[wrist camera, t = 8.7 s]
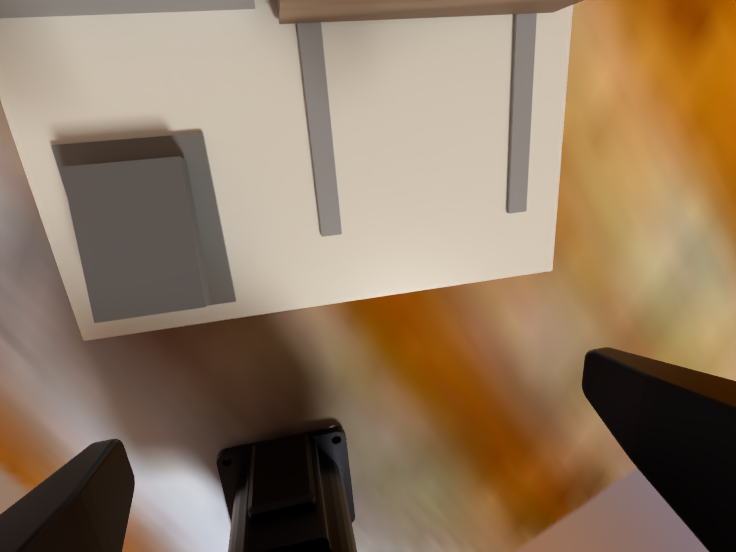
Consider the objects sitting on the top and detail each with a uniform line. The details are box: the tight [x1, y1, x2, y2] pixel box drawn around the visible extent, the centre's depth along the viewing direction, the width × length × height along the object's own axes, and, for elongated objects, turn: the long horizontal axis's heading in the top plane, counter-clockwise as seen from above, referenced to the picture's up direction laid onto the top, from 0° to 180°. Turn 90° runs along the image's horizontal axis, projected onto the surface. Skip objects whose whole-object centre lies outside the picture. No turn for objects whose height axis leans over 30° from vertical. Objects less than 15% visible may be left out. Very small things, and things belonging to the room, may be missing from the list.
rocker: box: [61, 156, 211, 323], centre depth 14 cm, size 5×4×1 cm
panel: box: [0, 0, 573, 341], centre depth 15 cm, size 20×20×4 cm
